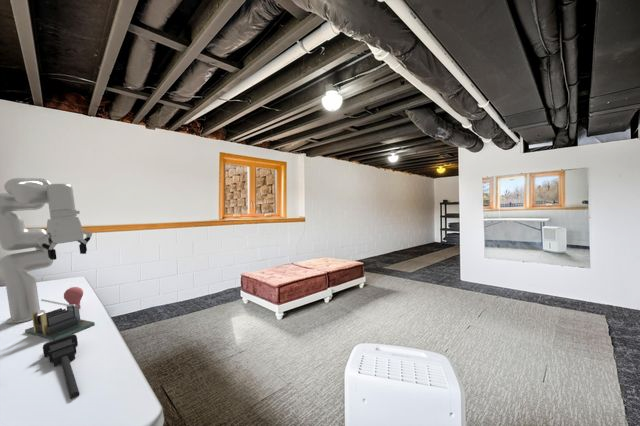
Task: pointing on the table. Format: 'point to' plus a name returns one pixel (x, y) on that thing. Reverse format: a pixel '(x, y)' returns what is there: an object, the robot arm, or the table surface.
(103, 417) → the table surface
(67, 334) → the circuit board
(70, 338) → the electrical plug
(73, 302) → the light bulb
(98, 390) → the table surface
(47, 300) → the retention strap
